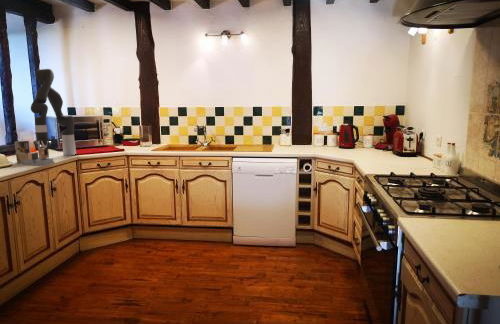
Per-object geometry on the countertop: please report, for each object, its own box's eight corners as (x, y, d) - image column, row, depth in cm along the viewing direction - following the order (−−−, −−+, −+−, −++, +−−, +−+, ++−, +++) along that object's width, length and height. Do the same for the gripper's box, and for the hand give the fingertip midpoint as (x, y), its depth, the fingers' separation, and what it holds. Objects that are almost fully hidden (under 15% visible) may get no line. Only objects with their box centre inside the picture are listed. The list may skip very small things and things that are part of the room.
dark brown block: (49, 157, 272) (48, 147, 271) (43, 158, 267) (42, 149, 265) (44, 157, 273) (44, 147, 272) (38, 158, 267) (37, 148, 266)
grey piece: (34, 162, 278) (33, 151, 277) (54, 162, 275) (53, 152, 274) (23, 164, 268) (22, 153, 266) (43, 165, 265) (42, 154, 263)
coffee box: (32, 161, 281) (30, 140, 278) (30, 162, 275) (28, 141, 272) (18, 162, 277) (15, 140, 275) (16, 163, 272) (14, 141, 269)
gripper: (53, 131, 269) (55, 154, 272) (36, 130, 271) (39, 153, 274) (46, 132, 262) (48, 156, 265) (29, 131, 264) (31, 155, 267)
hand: (43, 154), depth 269 cm, fingers closed on dark brown block, 3 cm apart
